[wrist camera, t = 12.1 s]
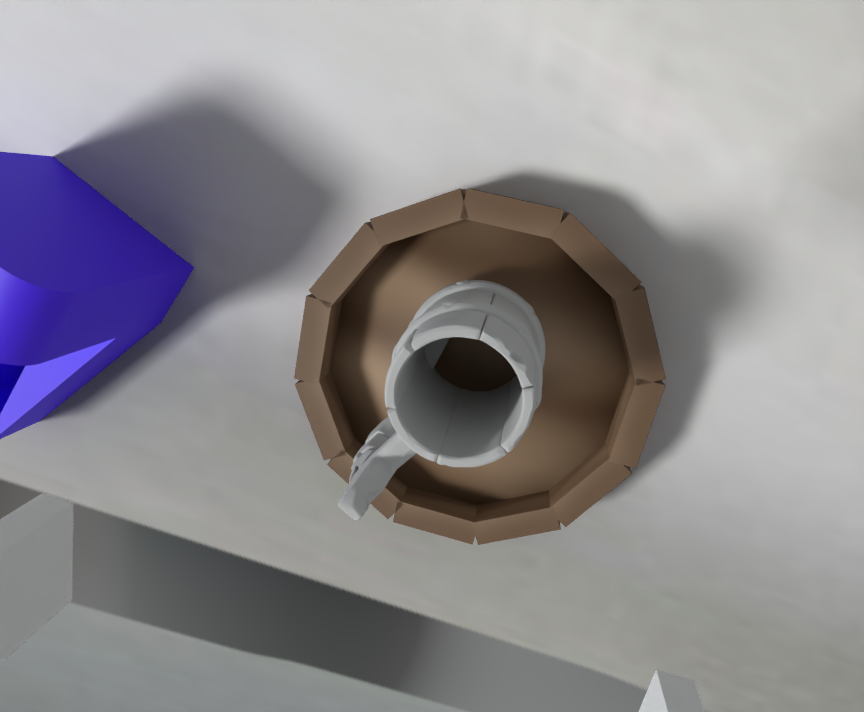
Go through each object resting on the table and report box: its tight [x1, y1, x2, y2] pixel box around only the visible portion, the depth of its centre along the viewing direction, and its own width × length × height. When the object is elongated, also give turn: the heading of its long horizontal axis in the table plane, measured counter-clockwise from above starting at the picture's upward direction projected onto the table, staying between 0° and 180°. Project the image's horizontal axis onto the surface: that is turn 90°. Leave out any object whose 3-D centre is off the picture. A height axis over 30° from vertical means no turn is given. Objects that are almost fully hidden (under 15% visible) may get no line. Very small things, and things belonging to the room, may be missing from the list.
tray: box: [294, 188, 666, 545], centre depth 33 cm, size 20×20×3 cm
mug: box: [338, 280, 546, 520], centre depth 28 cm, size 8×12×12 cm, turn 136°
